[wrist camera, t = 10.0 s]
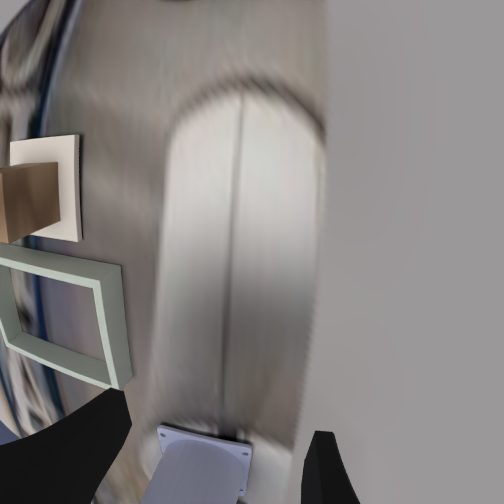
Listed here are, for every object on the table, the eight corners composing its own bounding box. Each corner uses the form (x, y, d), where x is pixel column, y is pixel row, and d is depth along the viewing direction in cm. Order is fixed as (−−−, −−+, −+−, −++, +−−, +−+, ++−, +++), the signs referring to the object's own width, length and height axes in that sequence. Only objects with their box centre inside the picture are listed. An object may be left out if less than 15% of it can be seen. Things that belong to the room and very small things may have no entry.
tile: (82, 239, 20) (77, 241, 19) (19, 230, 21) (15, 232, 20) (79, 134, 17) (74, 134, 17) (14, 141, 18) (10, 142, 18)
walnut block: (60, 221, 19) (8, 243, 14) (25, 217, 20) (-24, 236, 15) (58, 161, 18) (2, 173, 13) (21, 163, 18) (-31, 175, 14)
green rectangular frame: (134, 373, 23) (120, 393, 21) (22, 333, 25) (6, 346, 22) (120, 265, 20) (99, 280, 18) (1, 242, 22) (-19, 252, 19)
